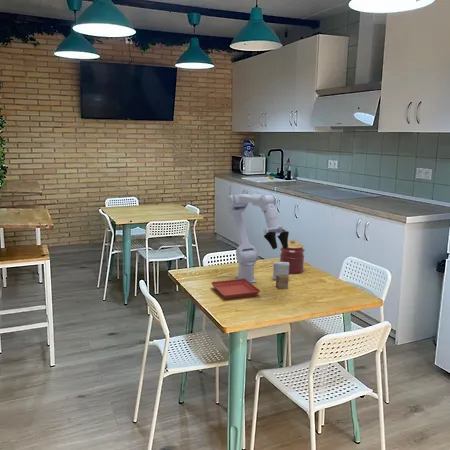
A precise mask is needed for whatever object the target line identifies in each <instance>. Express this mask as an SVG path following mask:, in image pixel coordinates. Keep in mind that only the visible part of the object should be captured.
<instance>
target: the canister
mask: <svg viewBox="0 0 450 450" xmlns="http://www.w3.org/2000/svg"><path fill="white" fill-rule="evenodd" d="M303 247H304V245H303V244H302V243H301V242H298V241H296V239H294V238H291V239H290V240H288V248H286V249H284V248H283V247H282V246H281V247H280V248H279V249H280V254H279V256H280V257H279V262H289V274H301V273H303V271H304V268H305V267H304V262H305V261H304V259H305V254H304V252H305V249H304V248H303Z"/></svg>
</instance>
